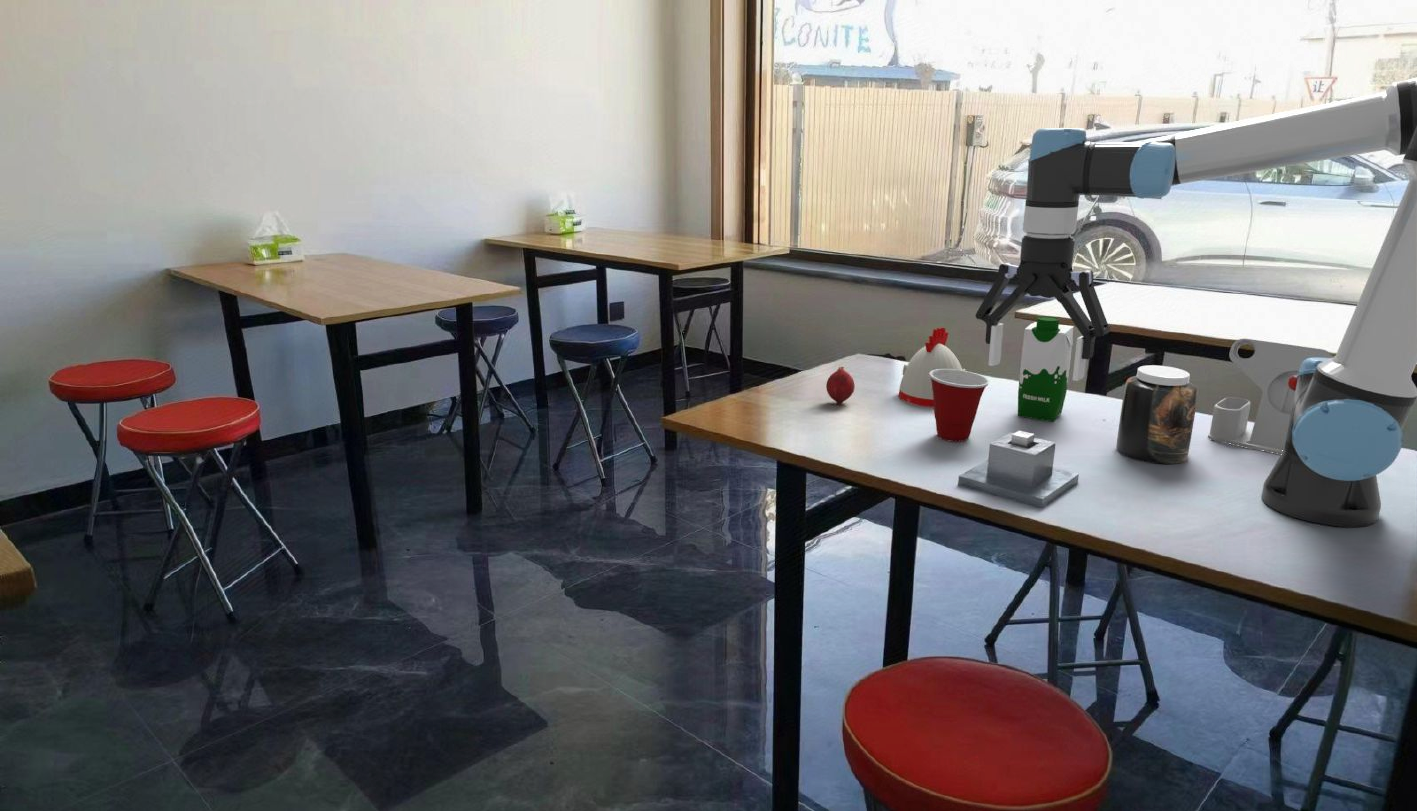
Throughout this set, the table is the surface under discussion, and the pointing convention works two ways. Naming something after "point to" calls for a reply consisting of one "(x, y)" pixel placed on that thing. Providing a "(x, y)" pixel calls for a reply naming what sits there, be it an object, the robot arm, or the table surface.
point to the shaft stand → (1017, 492)
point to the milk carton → (1044, 369)
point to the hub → (1020, 461)
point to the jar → (1157, 415)
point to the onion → (840, 385)
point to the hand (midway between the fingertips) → (1035, 371)
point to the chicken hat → (926, 369)
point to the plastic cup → (956, 401)
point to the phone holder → (1272, 376)
